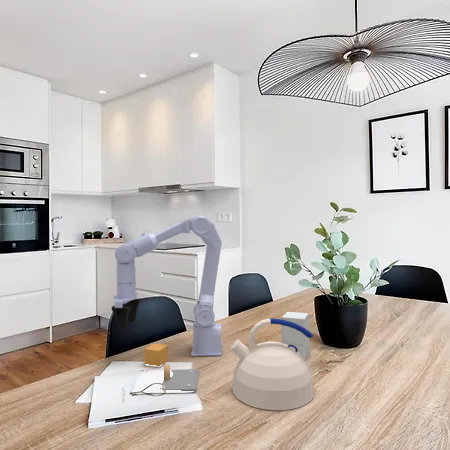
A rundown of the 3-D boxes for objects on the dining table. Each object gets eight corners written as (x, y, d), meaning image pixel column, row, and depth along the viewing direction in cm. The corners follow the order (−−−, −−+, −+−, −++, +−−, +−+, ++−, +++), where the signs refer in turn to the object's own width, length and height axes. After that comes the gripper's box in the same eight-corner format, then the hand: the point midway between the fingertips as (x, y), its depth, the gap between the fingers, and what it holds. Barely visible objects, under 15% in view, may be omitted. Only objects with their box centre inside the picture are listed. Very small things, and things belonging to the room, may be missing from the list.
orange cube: (153, 359, 111) (153, 343, 111) (167, 361, 110) (167, 345, 110) (144, 365, 107) (144, 348, 106) (159, 367, 105) (159, 350, 105)
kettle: (231, 373, 101) (230, 308, 101) (306, 373, 100) (305, 308, 100) (230, 411, 81) (229, 330, 81) (323, 411, 80) (322, 330, 80)
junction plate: (198, 372, 101) (198, 356, 101) (196, 393, 89) (195, 374, 89) (141, 373, 101) (141, 357, 101) (131, 394, 89) (130, 376, 89)
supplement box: (310, 352, 116) (310, 313, 116) (305, 360, 109) (304, 318, 109) (287, 349, 119) (287, 310, 119) (281, 357, 112) (280, 316, 112)
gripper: (122, 278, 122) (123, 318, 122) (104, 286, 107) (105, 332, 108) (142, 278, 121) (143, 318, 121) (127, 286, 107) (128, 332, 107)
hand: (127, 325), depth 114 cm, fingers open, 7 cm apart
